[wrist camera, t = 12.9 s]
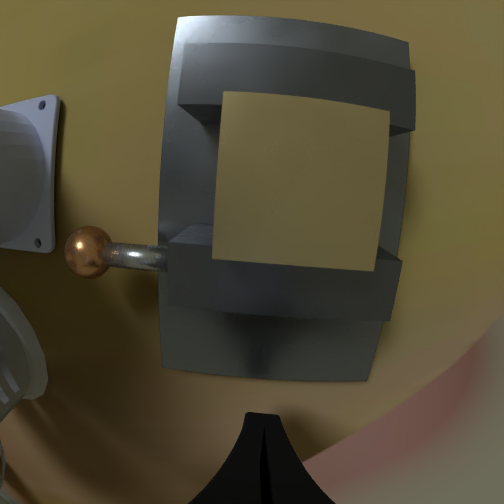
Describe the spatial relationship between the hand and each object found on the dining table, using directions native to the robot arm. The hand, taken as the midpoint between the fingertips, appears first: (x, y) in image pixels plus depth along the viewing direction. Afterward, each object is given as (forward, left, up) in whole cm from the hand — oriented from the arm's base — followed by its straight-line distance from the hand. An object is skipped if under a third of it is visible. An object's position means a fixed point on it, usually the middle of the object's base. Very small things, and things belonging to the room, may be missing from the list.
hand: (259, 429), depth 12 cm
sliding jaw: (-2, +7, -3) cm, 8 cm away
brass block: (0, +10, -3) cm, 10 cm away
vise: (0, +9, -4) cm, 10 cm away
